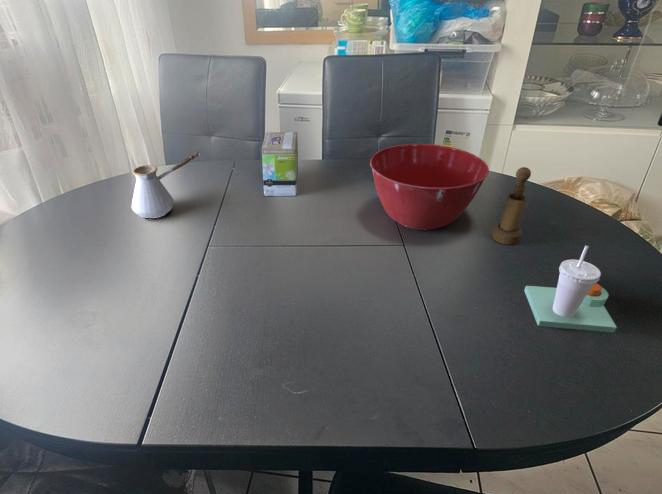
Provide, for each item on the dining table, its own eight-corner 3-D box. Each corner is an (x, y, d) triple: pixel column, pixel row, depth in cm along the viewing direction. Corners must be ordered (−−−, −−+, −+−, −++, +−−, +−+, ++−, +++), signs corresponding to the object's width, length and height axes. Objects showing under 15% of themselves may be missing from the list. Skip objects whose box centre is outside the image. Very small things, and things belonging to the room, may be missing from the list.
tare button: (595, 288, 88) (598, 282, 87) (601, 297, 85) (604, 291, 84) (580, 287, 88) (583, 281, 87) (585, 296, 86) (588, 289, 85)
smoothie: (568, 298, 87) (593, 236, 79) (590, 320, 82) (619, 256, 74) (537, 302, 87) (560, 240, 79) (558, 324, 81) (584, 260, 73)
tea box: (297, 196, 132) (295, 147, 123) (263, 197, 132) (259, 148, 124) (298, 176, 144) (297, 130, 136) (267, 176, 144) (264, 131, 136)
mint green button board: (596, 295, 90) (601, 283, 88) (619, 333, 81) (625, 321, 79) (523, 289, 92) (527, 278, 91) (537, 326, 83) (542, 314, 81)
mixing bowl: (491, 211, 121) (504, 155, 112) (451, 258, 102) (464, 197, 94) (396, 187, 135) (401, 136, 126) (346, 225, 117) (348, 169, 108)
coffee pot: (136, 226, 119) (122, 173, 111) (131, 208, 128) (117, 158, 119) (214, 209, 126) (206, 158, 118) (204, 194, 135) (196, 145, 126)
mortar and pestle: (524, 244, 106) (546, 173, 96) (497, 245, 106) (516, 174, 96) (513, 231, 112) (533, 162, 102) (487, 231, 112) (504, 163, 102)
